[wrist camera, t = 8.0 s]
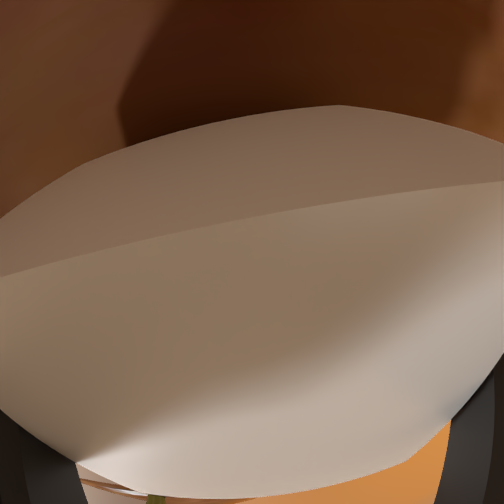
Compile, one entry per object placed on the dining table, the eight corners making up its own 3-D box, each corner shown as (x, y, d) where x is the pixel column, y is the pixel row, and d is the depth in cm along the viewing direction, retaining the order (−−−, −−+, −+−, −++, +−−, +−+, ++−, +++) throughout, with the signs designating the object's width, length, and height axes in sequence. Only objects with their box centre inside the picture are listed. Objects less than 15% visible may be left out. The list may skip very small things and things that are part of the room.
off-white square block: (83, 163, 9) (-85, 305, 2) (339, 105, 9) (570, 177, 1) (163, 341, 14) (141, 492, 7) (346, 310, 14) (406, 461, 7)
